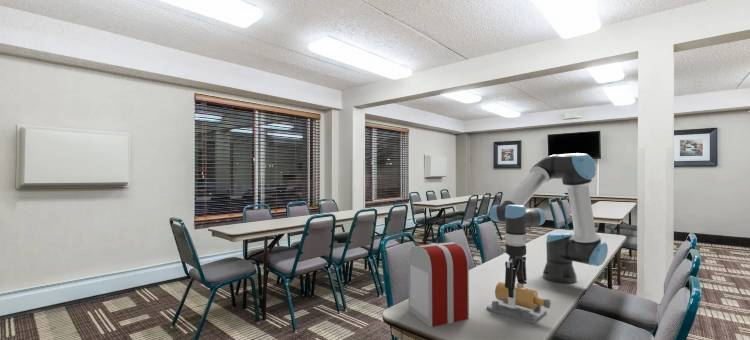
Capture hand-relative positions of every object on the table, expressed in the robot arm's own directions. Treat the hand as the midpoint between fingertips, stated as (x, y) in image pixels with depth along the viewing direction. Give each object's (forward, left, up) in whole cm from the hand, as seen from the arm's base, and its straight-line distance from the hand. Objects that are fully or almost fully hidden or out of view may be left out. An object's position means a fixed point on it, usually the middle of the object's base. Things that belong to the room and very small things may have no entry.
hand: (516, 302), depth 131 cm
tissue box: (+24, -20, -4) cm, 32 cm away
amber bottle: (0, +3, -1) cm, 3 cm away
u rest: (0, 0, -3) cm, 3 cm away
